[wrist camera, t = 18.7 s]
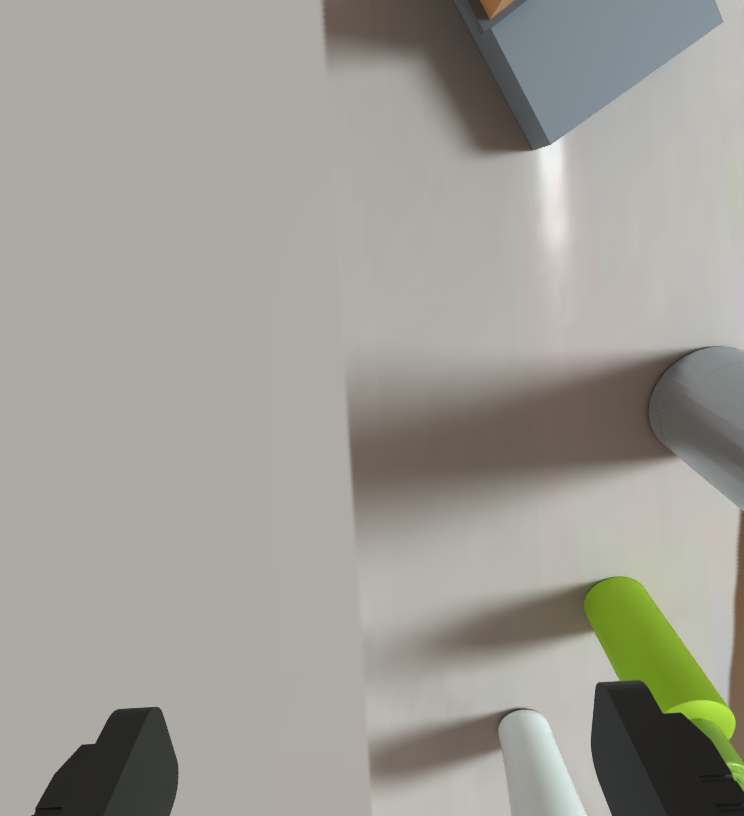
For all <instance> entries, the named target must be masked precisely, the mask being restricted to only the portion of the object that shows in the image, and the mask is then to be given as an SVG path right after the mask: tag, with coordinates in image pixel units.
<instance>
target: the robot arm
mask: <svg viewBox="0 0 744 816" xmlns="http://www.w3.org/2000/svg"><path fill="white" fill-rule="evenodd" d="M649 421H650V425H651V428H652V430H653V432H654V434H655V436H656V437H657V438H658V439H659V440H660V441H661V442H662V443H663V444H664V445H665V446H666V447H667V448H668V449H670V450H671V451H672V452H673V453H674V454H676V455H677V456H678V457H679V458H680V459H682V460H683V461H684V462H685V463H686V464H687V465H688V466H690V467H691V468H692V469H693V470H694V471H696V472H697V473H698V474H699V475H700V476H702V477H703V478H704V479H705V480H707V481H708V482H709V483H710V484H711V485H713V486H714V487H715V488H716V489H717V490H719V491H720V492H721V493H722V494H723V495H725V496H726V497H727V498H728V499H730V500H731V501H732V502H733V503H734V504H736V505H737V506H738V507H739V508H740V509H742V510H743V511H744V352H743V351H741V350H738V349H736V348H730V347H723V346H721V347H709V348H705V349H701V350H698V351H695V352H693V353H691V354H689V355H687V356H684V357H683V358H682V359H680V360H679V361H677V362H676V363H674V364H673V365H672V366H671V367H670V368H669V369H668V370H667V371H666V372H665V373H664V374H663V375H662V377H661V378H660V380H659V381H658V383H657V384H656V386H655V388H654V390H653V393H652V395H651V399H650V403H649ZM591 751H592V758H593V763H594V767H595V771H596V774H597V777H598V780H599V783H600V786H601V788H602V791H603V793H604V796H605V798H606V801H607V804H608V806H609V809H610V811H611V814H612V816H744V791H743V790H742V788H741V787H740V785H739V783H738V782H737V781H735V780H734V778H733V776H732V772H731V771H730V769H729V767H728V766H727V764H726V763H725V761H724V760H723V758H722V756H721V755H720V753H719V752H718V750H717V748H716V747H715V745H714V744H713V742H712V740H711V739H710V738H709V737H707V736H706V735H705V734H704V733H703V732H702V731H701V730H700V729H699V728H698V727H697V726H695V725H694V724H693V723H692V722H691V721H690V720H689V719H688V718H687V717H686V716H685V715H683V714H682V713H681V712H680V713H662V711H661V709H660V707H659V706H658V704H657V702H656V700H655V699H654V697H653V695H652V693H651V692H650V690H649V688H648V687H647V686H646V684H645V683H644V682H643V681H641V680H632V681H615V682H599V683H597V685H596V689H595V699H594V710H593V721H592V732H591ZM177 784H178V763H177V758H176V755H175V752H174V749H173V745H172V742H171V739H170V736H169V733H168V729H167V726H166V722H165V719H164V716H163V713H162V711H161V709H160V708H159V707H146V708H129V709H118V710H116V711H114V712H113V713H112V714H111V716H110V717H109V718H108V720H107V722H106V724H105V726H104V728H103V730H102V732H101V734H100V736H99V738H98V739H97V741H96V743H95V744H87V745H81V746H80V747H79V748H78V749H77V751H76V752H75V753H74V754H73V755H72V756H71V757H70V758H69V759H68V760H67V761H66V762H65V763H64V765H63V766H62V767H61V768H60V769H59V770H58V771H57V772H56V773H55V774H54V776H53V778H52V780H51V781H50V783H49V785H48V787H47V788H46V790H45V792H44V794H43V796H42V798H41V799H40V801H39V803H38V805H37V806H36V808H35V809H36V811H35V814H34V815H32V816H169V815H170V813H171V810H172V807H173V804H174V800H175V796H176V791H177V786H178V785H177Z"/></svg>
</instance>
